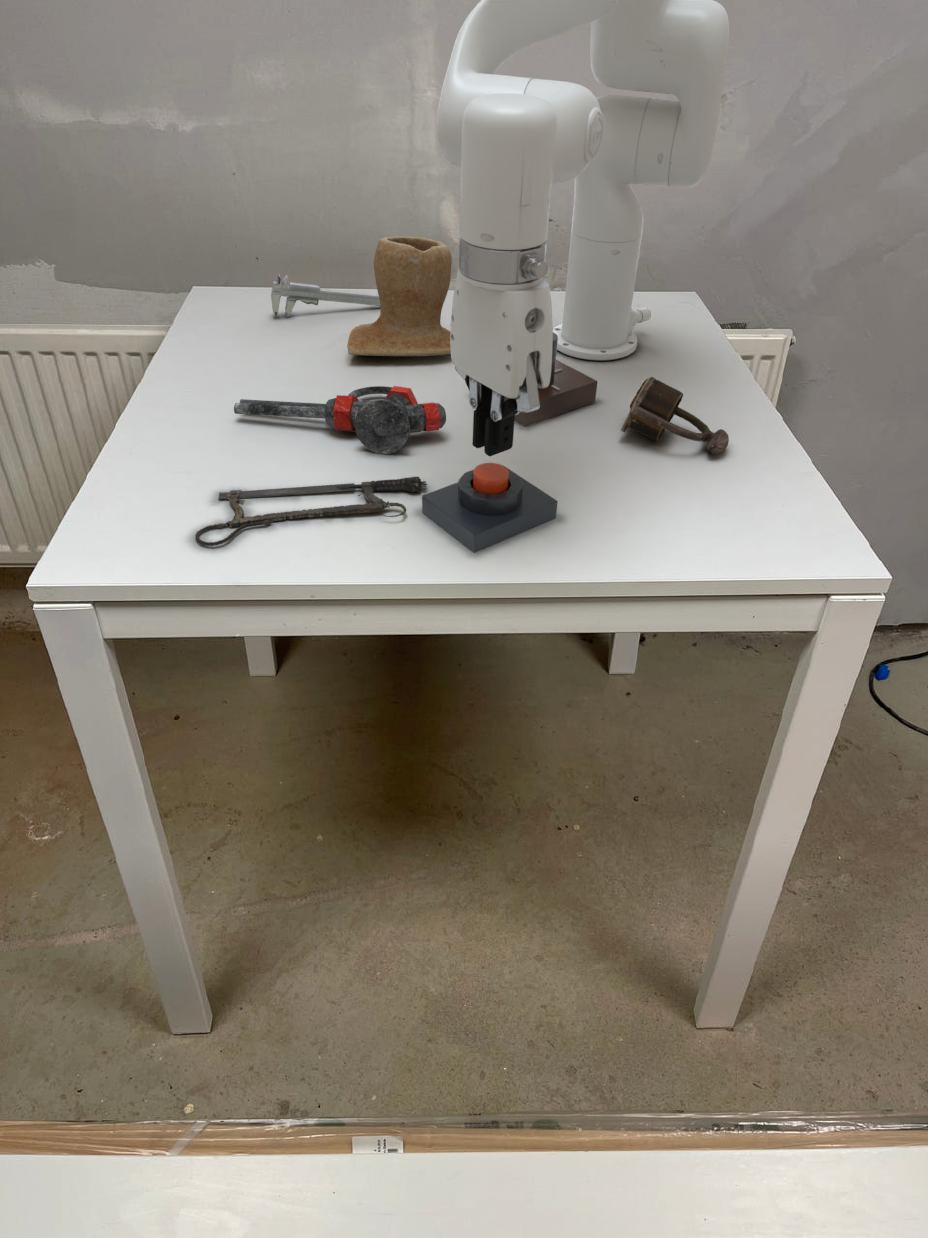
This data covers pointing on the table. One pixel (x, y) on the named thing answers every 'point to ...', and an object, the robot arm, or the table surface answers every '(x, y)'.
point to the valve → (362, 415)
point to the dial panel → (561, 395)
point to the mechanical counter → (667, 416)
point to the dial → (553, 355)
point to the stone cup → (407, 300)
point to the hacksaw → (368, 487)
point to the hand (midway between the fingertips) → (492, 446)
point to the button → (490, 478)
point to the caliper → (314, 295)
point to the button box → (488, 511)
